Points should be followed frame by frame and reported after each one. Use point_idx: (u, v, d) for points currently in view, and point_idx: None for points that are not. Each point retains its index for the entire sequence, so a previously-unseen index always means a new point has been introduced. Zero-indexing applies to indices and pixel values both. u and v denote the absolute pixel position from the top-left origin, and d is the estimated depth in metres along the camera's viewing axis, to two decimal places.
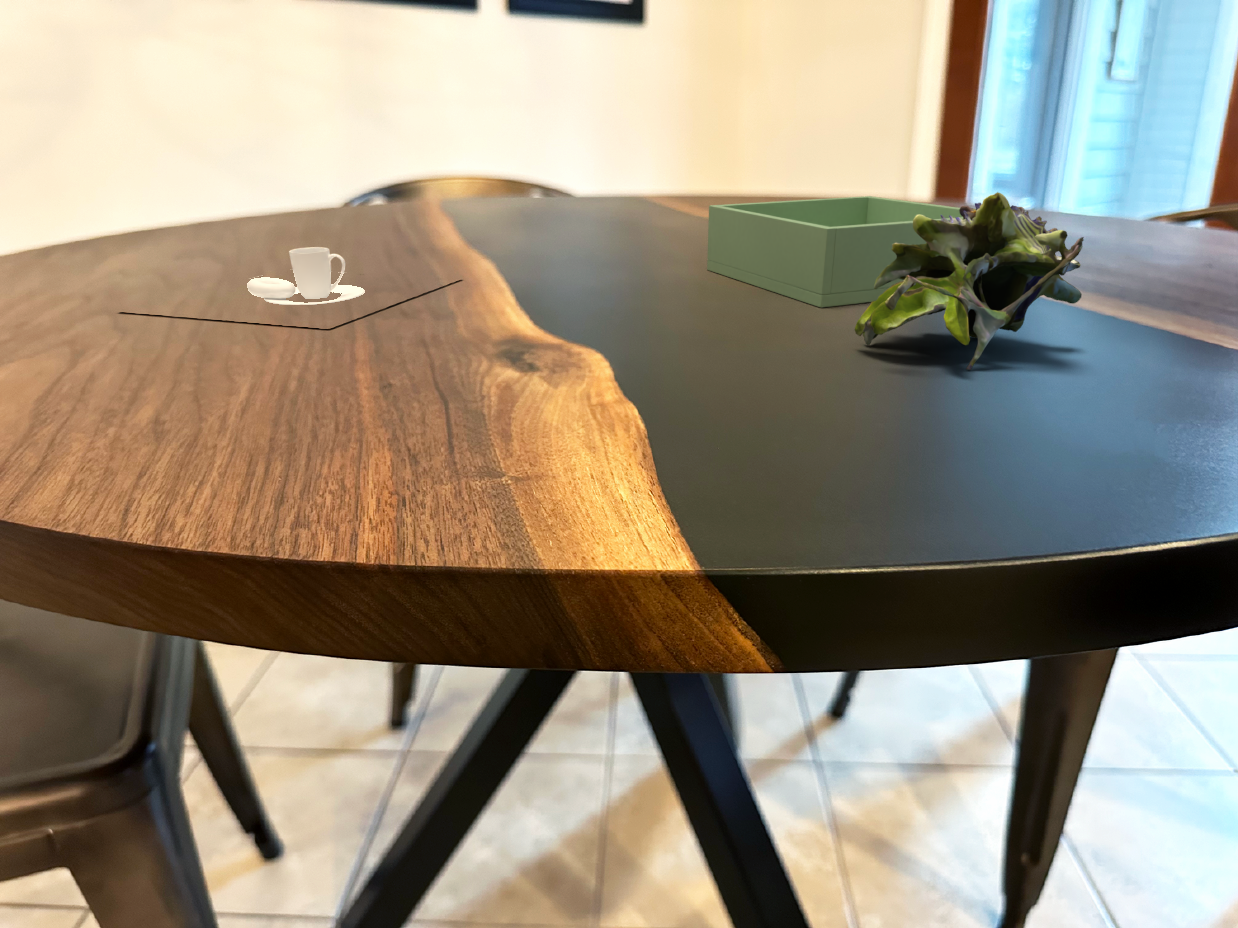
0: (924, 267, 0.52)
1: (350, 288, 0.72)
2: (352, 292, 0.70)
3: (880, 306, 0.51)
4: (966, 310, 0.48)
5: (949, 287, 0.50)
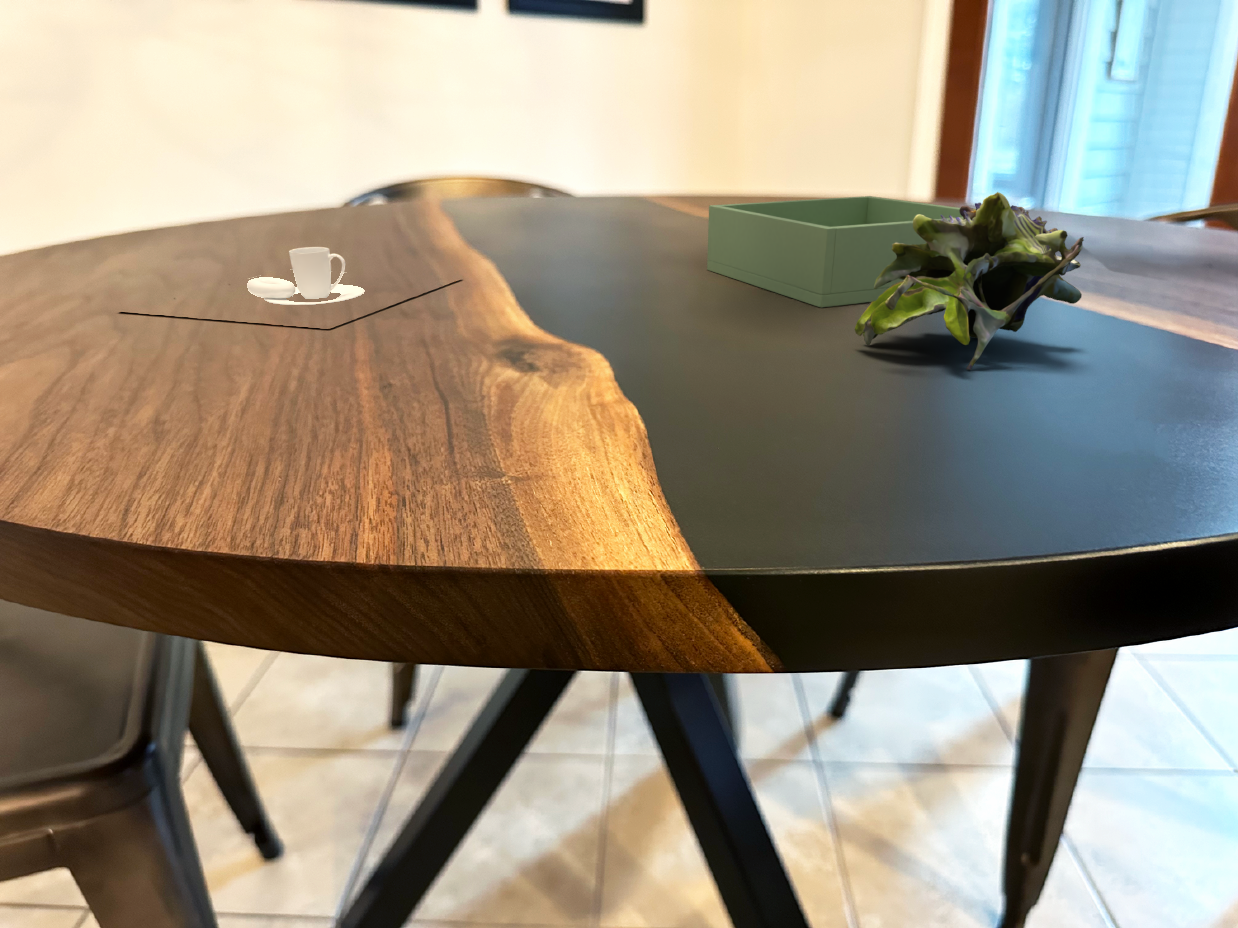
0: (924, 267, 0.52)
1: (350, 288, 0.72)
2: (352, 292, 0.70)
3: (880, 306, 0.51)
4: (966, 310, 0.48)
5: (949, 287, 0.50)
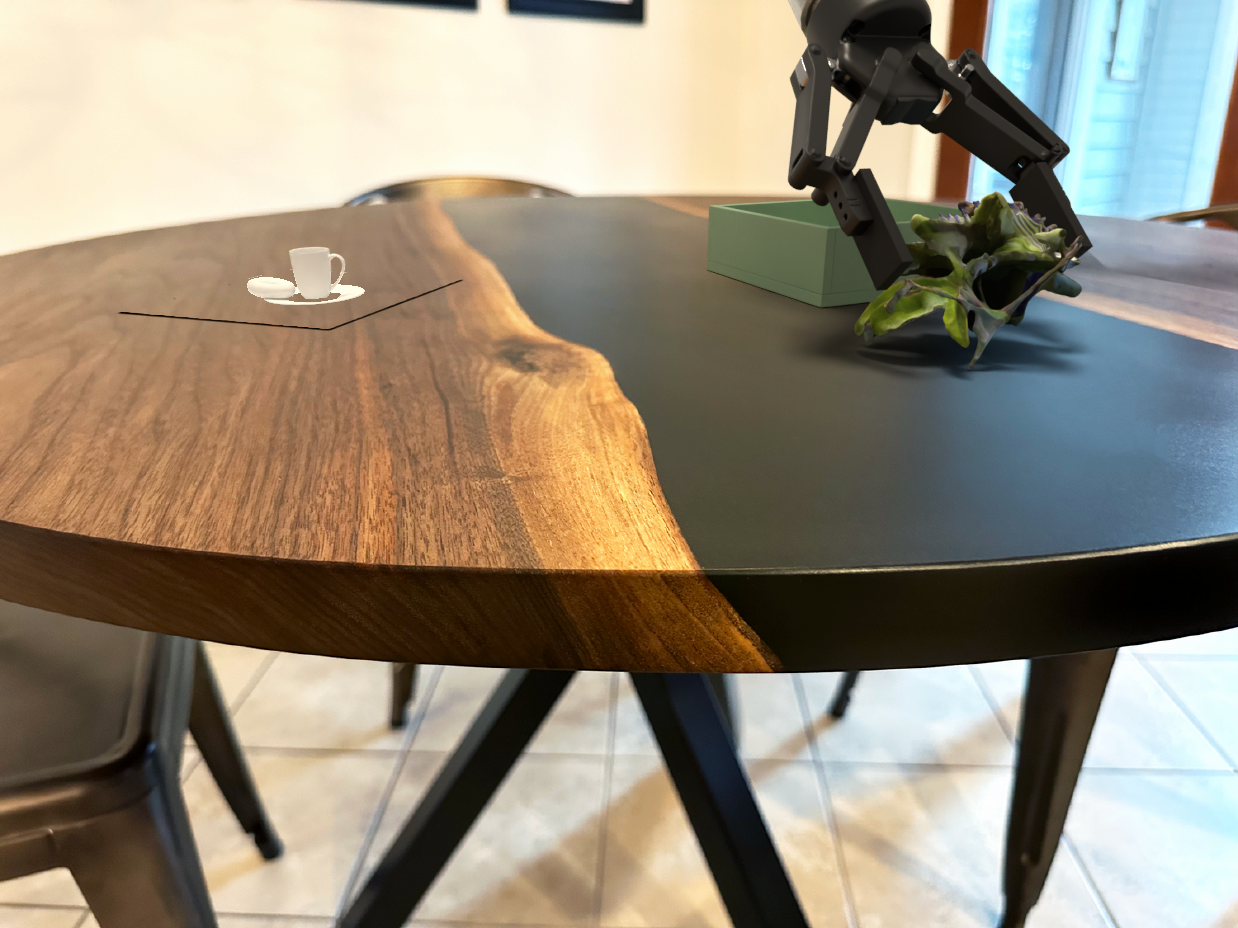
0: (923, 265, 0.52)
1: (350, 288, 0.72)
2: (352, 292, 0.70)
3: (879, 307, 0.51)
4: (965, 312, 0.48)
5: (948, 287, 0.50)
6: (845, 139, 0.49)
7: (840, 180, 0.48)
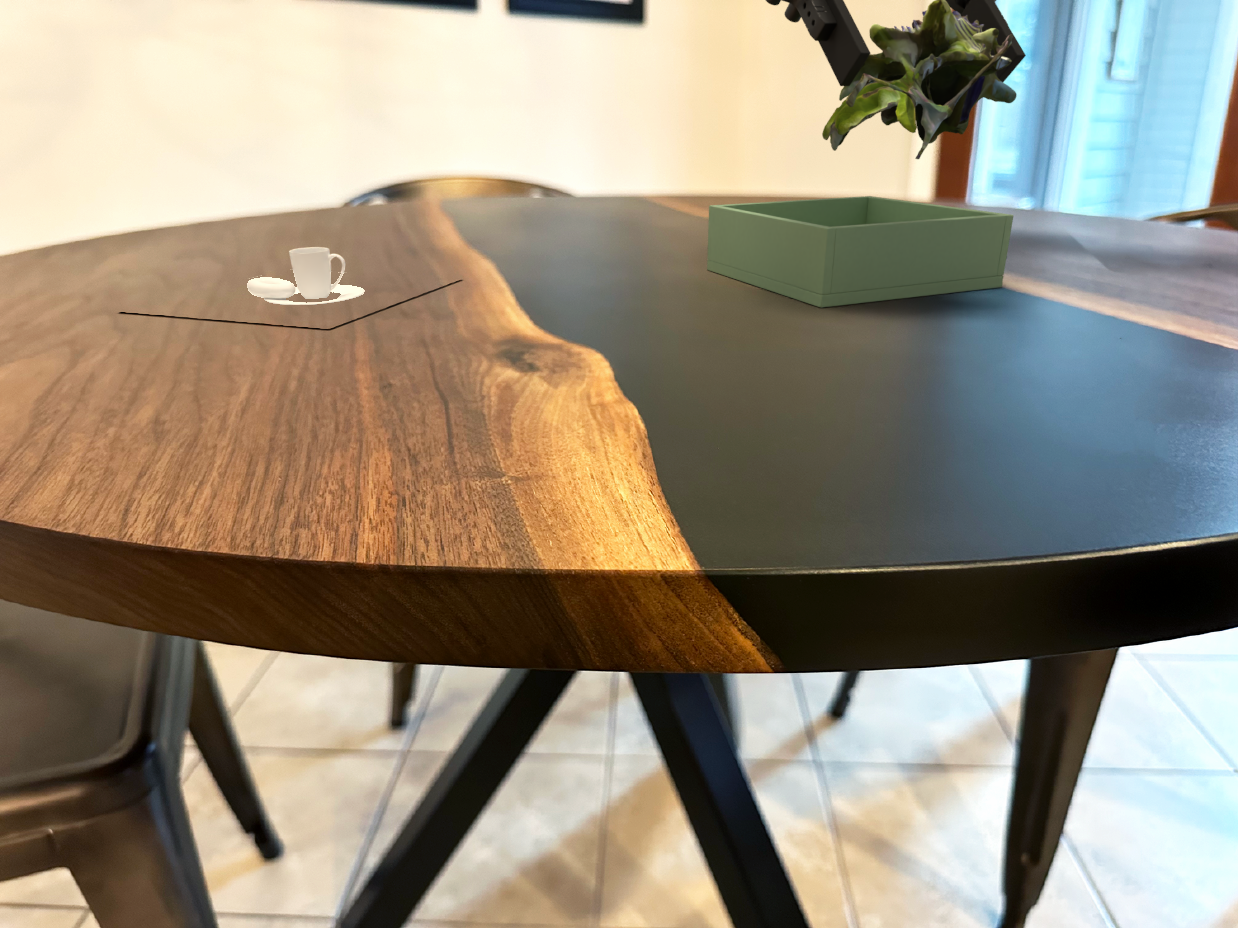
0: (881, 75, 0.60)
1: (350, 288, 0.72)
2: (352, 292, 0.70)
3: (843, 109, 0.59)
4: (914, 103, 0.56)
5: (901, 88, 0.58)
6: None
7: None
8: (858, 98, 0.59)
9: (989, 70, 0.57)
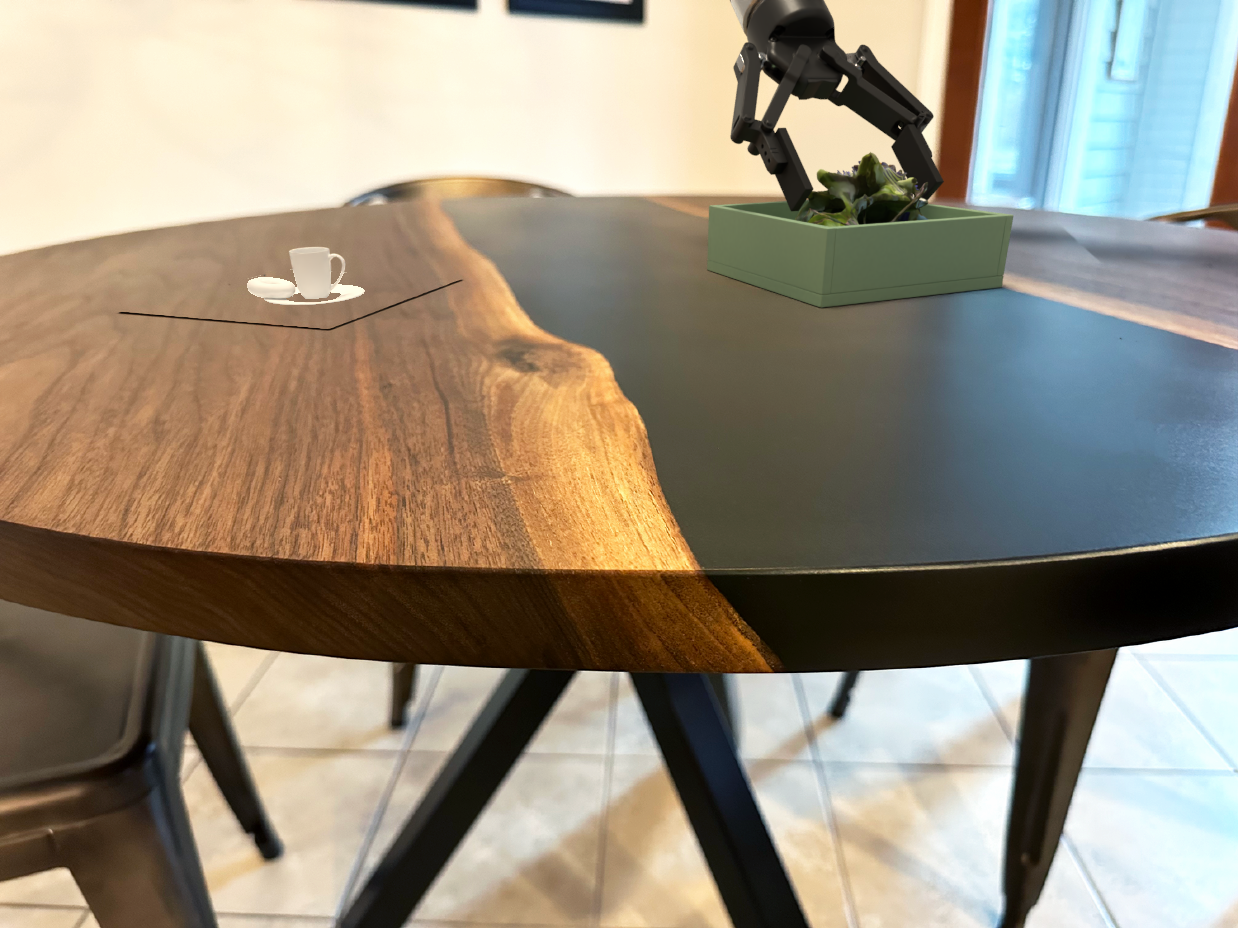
0: (827, 207, 0.75)
1: (350, 288, 0.72)
2: (352, 292, 0.70)
3: None
4: None
5: (841, 219, 0.72)
6: (769, 108, 0.71)
7: (765, 136, 0.70)
8: None
9: (911, 208, 0.72)
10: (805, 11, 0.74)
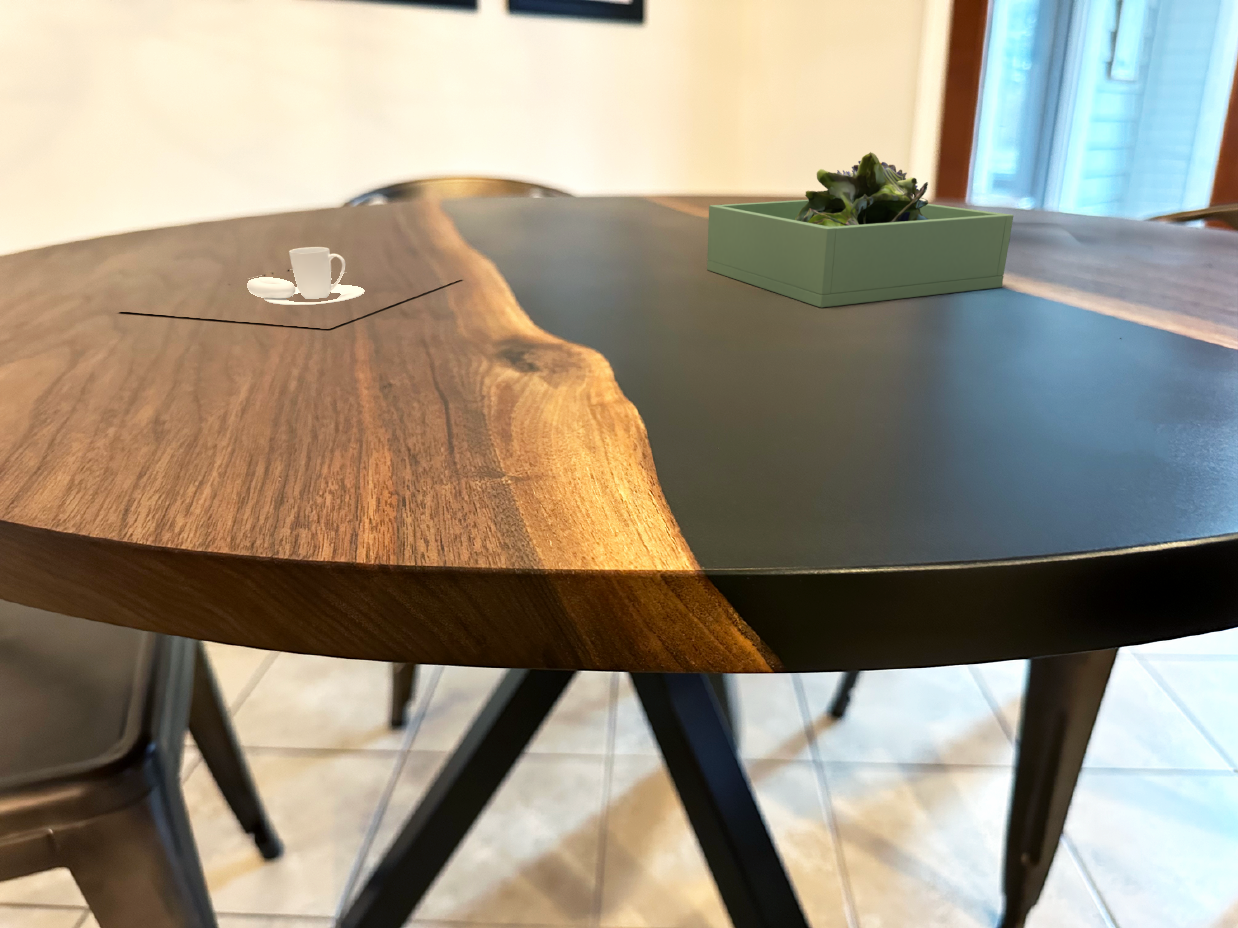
0: (827, 207, 0.75)
1: (350, 288, 0.72)
2: (352, 292, 0.70)
3: None
4: None
5: (841, 219, 0.72)
6: None
7: None
8: None
9: (911, 208, 0.72)
10: None
